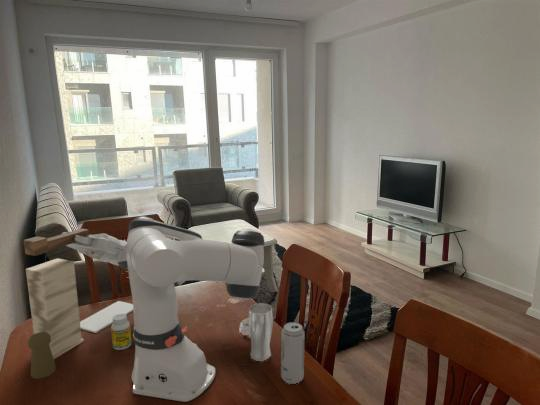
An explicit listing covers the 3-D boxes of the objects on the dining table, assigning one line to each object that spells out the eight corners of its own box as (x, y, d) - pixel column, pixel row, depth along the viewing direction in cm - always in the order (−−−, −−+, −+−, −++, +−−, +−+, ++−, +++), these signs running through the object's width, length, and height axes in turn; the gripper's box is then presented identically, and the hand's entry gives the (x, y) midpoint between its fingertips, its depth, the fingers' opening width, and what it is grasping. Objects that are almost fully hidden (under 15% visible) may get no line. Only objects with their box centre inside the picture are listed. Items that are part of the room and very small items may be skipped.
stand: (83, 341, 119) (75, 261, 114) (53, 359, 110) (43, 273, 105) (64, 335, 123) (55, 257, 118) (32, 352, 113) (22, 269, 108)
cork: (37, 381, 101) (33, 343, 98) (26, 373, 104) (21, 336, 102) (60, 369, 106) (56, 332, 103) (48, 362, 109) (44, 326, 107)
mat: (139, 307, 142) (139, 305, 142) (95, 333, 124) (95, 331, 124) (118, 302, 146) (118, 300, 146) (73, 326, 128) (73, 325, 128)
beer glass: (277, 353, 113) (277, 306, 110) (264, 366, 107) (264, 316, 104) (257, 346, 117) (257, 300, 114) (243, 358, 111) (243, 310, 108)
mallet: (90, 238, 122) (89, 225, 121) (35, 255, 105) (33, 241, 104) (81, 236, 123) (80, 224, 122) (25, 254, 106) (23, 240, 106)
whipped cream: (262, 339, 123) (264, 326, 121) (242, 342, 120) (244, 328, 119) (255, 326, 130) (256, 313, 129) (235, 328, 127) (237, 314, 126)
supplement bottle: (129, 339, 121) (127, 310, 119) (133, 347, 116) (131, 317, 115) (111, 344, 118) (108, 315, 116) (114, 352, 114) (112, 322, 112)
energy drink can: (279, 372, 105) (279, 321, 102) (301, 370, 105) (302, 320, 102) (282, 387, 99) (283, 333, 96) (305, 385, 99) (306, 332, 97)
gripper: (123, 260, 124) (91, 251, 112) (77, 252, 132) (42, 242, 120) (129, 241, 126) (98, 230, 114) (83, 234, 134) (50, 223, 122)
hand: (69, 236), depth 117 cm, fingers closed on mallet, 3 cm apart
